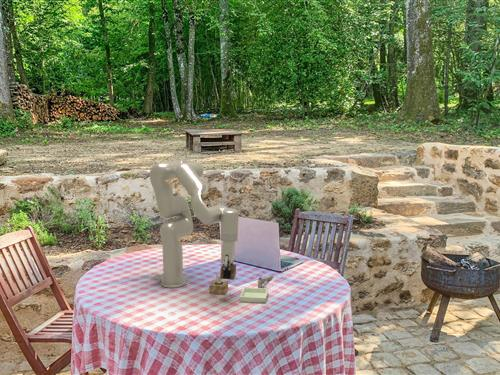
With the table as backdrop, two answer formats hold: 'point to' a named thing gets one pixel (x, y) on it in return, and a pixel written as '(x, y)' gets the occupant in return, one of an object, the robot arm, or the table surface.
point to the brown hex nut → (218, 287)
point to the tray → (254, 295)
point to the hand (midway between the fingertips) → (228, 275)
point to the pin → (218, 279)
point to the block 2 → (233, 271)
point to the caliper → (263, 280)
